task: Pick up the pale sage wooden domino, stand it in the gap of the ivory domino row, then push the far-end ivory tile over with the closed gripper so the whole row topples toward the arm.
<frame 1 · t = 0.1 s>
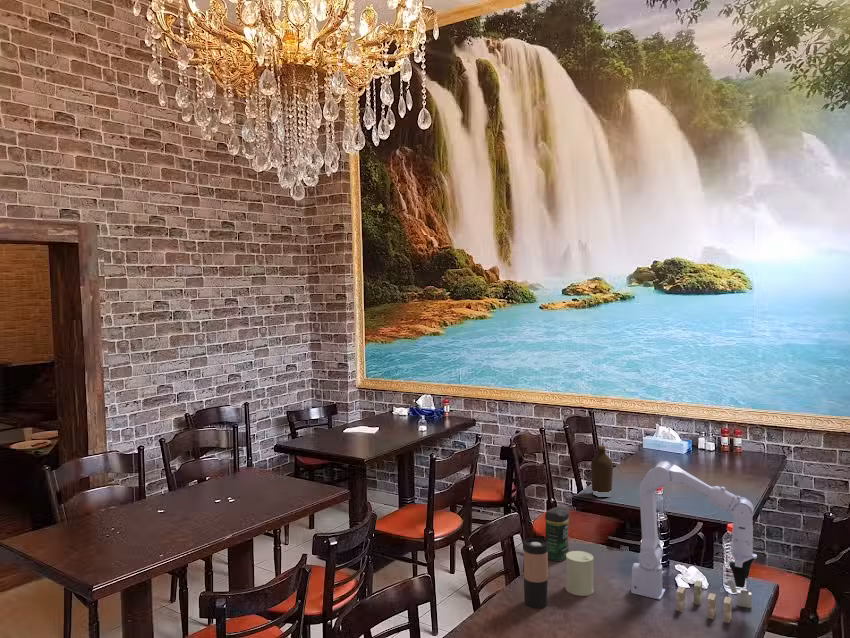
hand: (741, 582, 197), 10 cm above the table, fingers open, 7 cm apart
travel mug: (535, 604, 205), on the table
olive oil: (601, 495, 316), on the table
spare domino: (697, 601, 205), on the table
coffee jar: (556, 557, 241), on the table
can: (579, 590, 214), on the table
domino a: (727, 619, 194), on the table
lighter: (738, 605, 203), on the table
domino d: (680, 608, 201), on the table
domino b: (711, 615, 196), on the table
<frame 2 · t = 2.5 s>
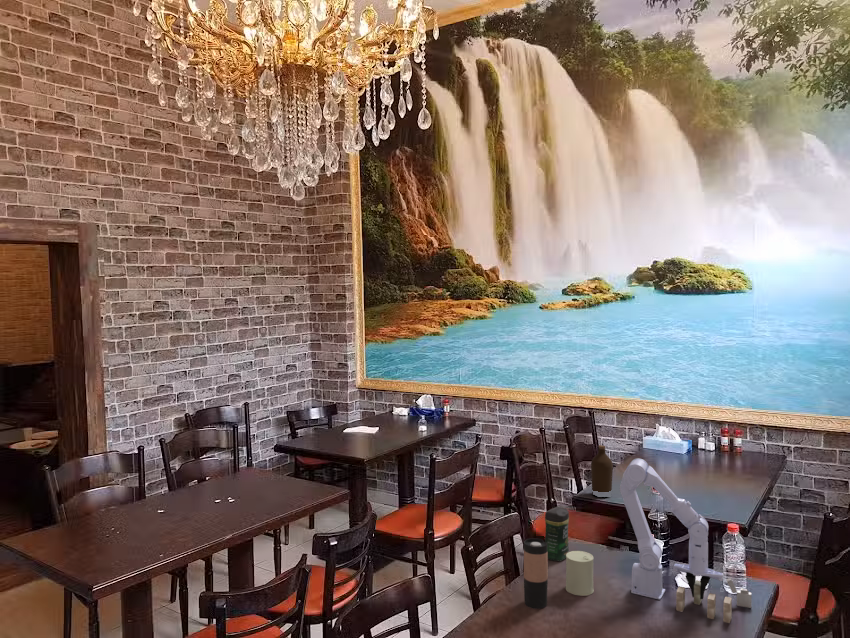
hand: (697, 597, 205), 1 cm above the table, fingers closed on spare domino, 2 cm apart
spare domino: (697, 601, 205), on the table, touching gripper
everything else where it was.
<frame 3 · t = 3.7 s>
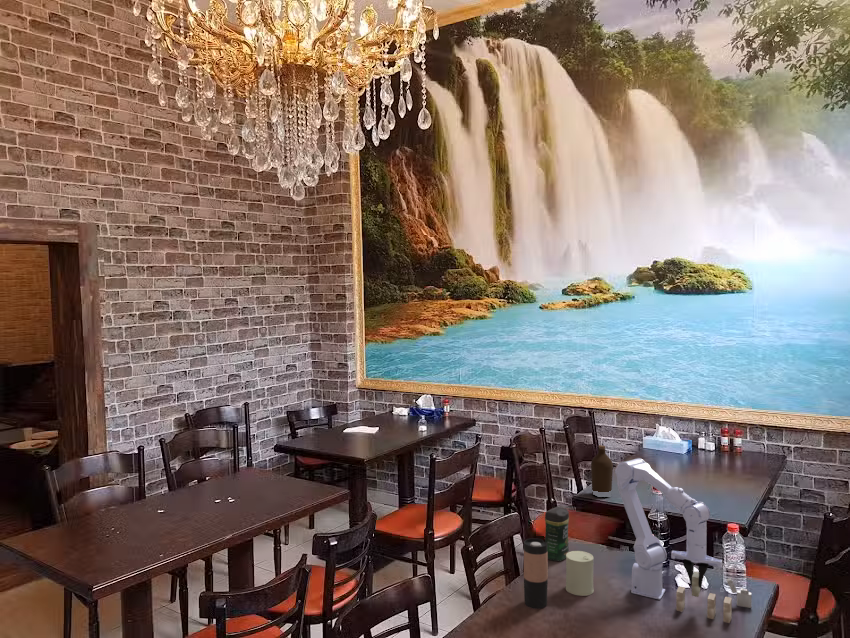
hand: (696, 585, 198), 8 cm above the table, fingers closed on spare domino
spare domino: (696, 593, 199), point 6 cm above the table, touching gripper
everything else where it was.
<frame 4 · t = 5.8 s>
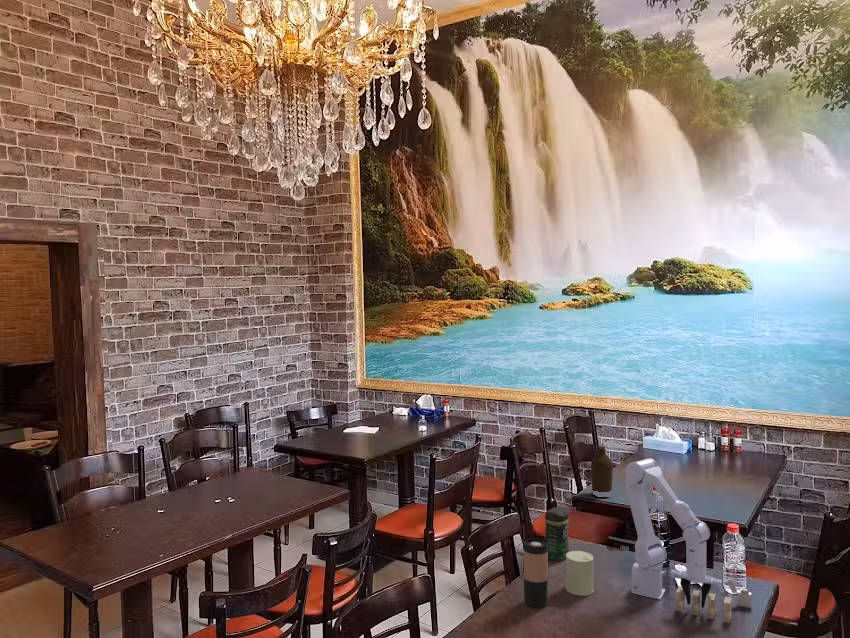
hand: (695, 604, 199), 2 cm above the table, fingers open, 3 cm apart
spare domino: (695, 611, 199), on the table
everything else where it was.
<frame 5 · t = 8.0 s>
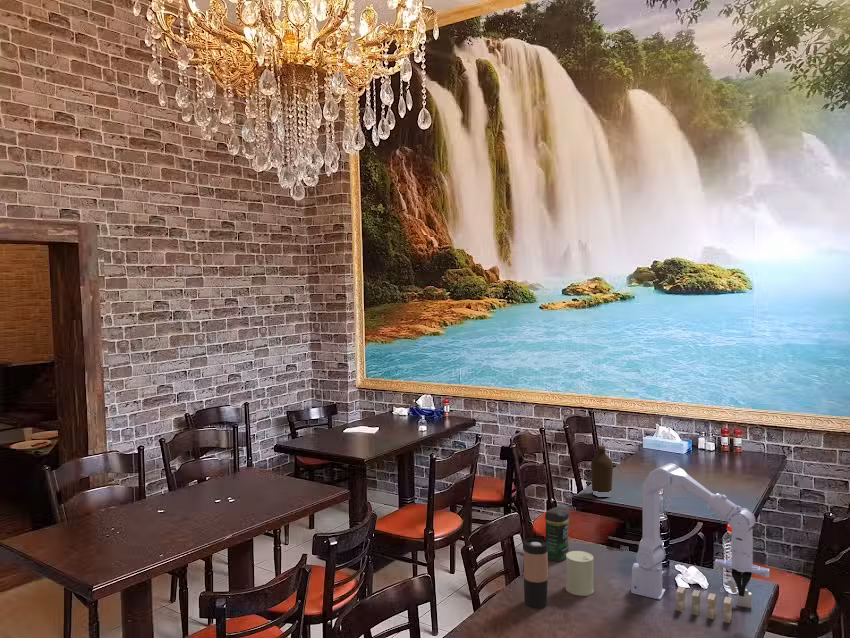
hand: (741, 594, 192), 9 cm above the table, fingers closed
nothing on the table moved.
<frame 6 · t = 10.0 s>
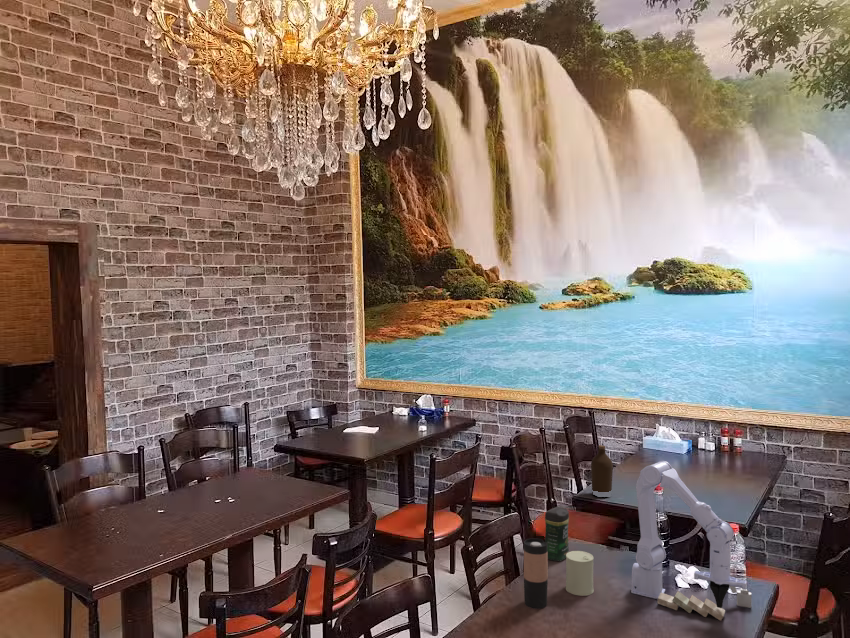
hand: (719, 606, 195), 3 cm above the table, fingers closed
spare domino: (692, 608, 199), point 1 cm above the table, tilted 63°, touching domino d
domino a: (723, 615, 195), point 1 cm above the table, tilted 65°, touching domino b
domino d: (678, 604, 201), point 1 cm above the table, tilted 83°, touching arm, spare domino
domino b: (708, 612, 197), point 1 cm above the table, tilted 65°, touching domino a
everything else where it was.
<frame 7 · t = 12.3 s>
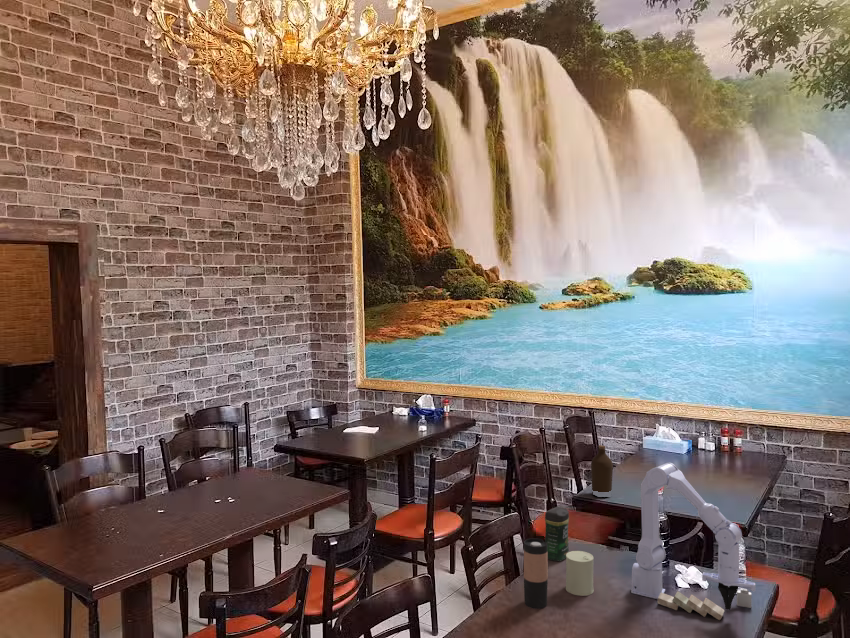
hand: (728, 608, 194), 3 cm above the table, fingers closed
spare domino: (692, 608, 199), point 1 cm above the table, tilted 64°, touching domino b, domino d
domino b: (707, 611, 197), point 1 cm above the table, tilted 64°, touching domino a, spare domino
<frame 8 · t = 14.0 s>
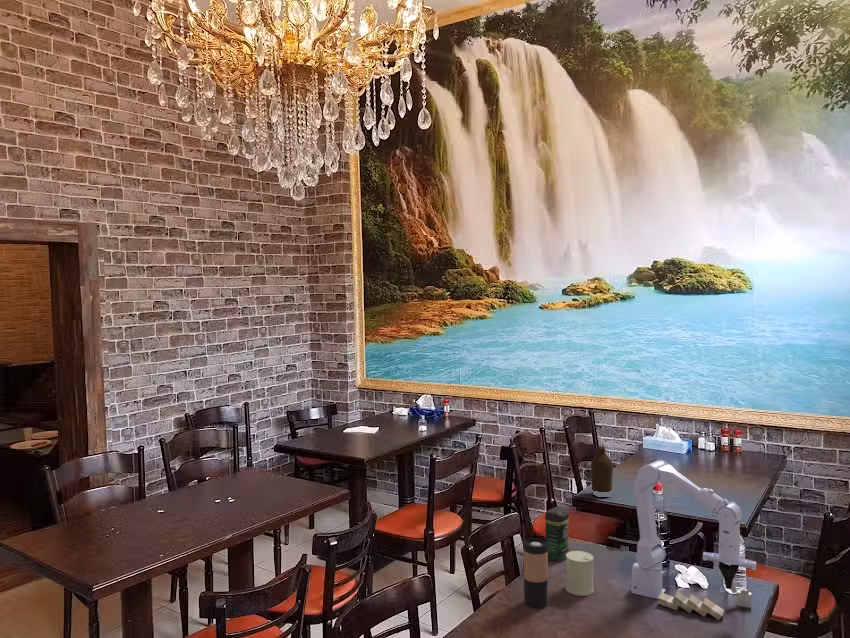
hand: (728, 587, 194), 10 cm above the table, fingers closed
nothing on the table moved.
at the end: domino a tilted 64°; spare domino tilted 64°; domino d tilted 82° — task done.
